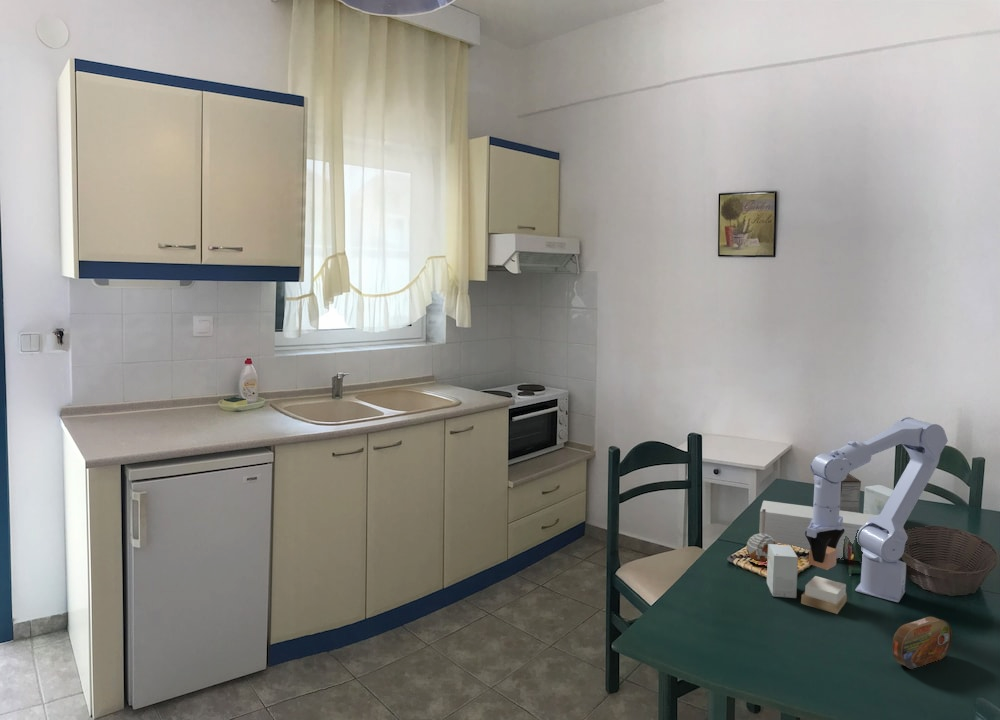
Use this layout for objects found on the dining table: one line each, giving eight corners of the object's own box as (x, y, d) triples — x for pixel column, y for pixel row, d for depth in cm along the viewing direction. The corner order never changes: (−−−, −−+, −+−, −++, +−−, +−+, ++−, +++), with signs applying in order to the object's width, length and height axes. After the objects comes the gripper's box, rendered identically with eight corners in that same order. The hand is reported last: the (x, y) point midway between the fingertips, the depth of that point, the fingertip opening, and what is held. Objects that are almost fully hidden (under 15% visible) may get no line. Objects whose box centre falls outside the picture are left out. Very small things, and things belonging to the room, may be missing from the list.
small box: (796, 599, 164) (798, 557, 163) (772, 597, 166) (774, 555, 164) (789, 584, 172) (791, 544, 171) (766, 582, 173) (767, 543, 172)
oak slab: (846, 603, 163) (846, 593, 163) (837, 615, 157) (837, 605, 157) (810, 593, 168) (811, 584, 168) (800, 605, 162) (801, 595, 162)
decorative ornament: (764, 570, 181) (766, 516, 179) (740, 560, 187) (742, 507, 186) (783, 564, 185) (785, 510, 183) (759, 554, 191) (761, 502, 190)
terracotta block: (817, 559, 168) (818, 543, 168) (836, 565, 165) (837, 549, 165) (808, 563, 166) (809, 548, 165) (827, 570, 162) (828, 553, 162)
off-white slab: (845, 594, 163) (846, 584, 162) (836, 604, 157) (836, 594, 157) (814, 585, 167) (815, 575, 167) (804, 595, 162) (805, 585, 162)
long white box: (758, 546, 197) (760, 511, 196) (761, 534, 207) (763, 500, 206) (884, 566, 184) (887, 528, 182) (881, 552, 193) (884, 516, 192)
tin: (902, 673, 133) (905, 633, 132) (887, 665, 136) (890, 625, 135) (952, 656, 139) (955, 617, 138) (937, 649, 142) (940, 611, 141)
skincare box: (861, 517, 222) (863, 485, 220) (878, 515, 223) (880, 484, 222) (887, 528, 212) (889, 495, 210) (904, 526, 213) (906, 494, 212)
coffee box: (824, 520, 218) (827, 472, 216) (844, 521, 218) (847, 472, 216) (837, 531, 209) (840, 480, 207) (858, 531, 209) (862, 480, 207)
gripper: (829, 515, 156) (825, 572, 157) (856, 502, 165) (853, 556, 167) (799, 507, 161) (796, 562, 163) (827, 495, 170) (824, 547, 172)
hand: (823, 558), depth 165 cm, fingers closed on terracotta block, 4 cm apart
